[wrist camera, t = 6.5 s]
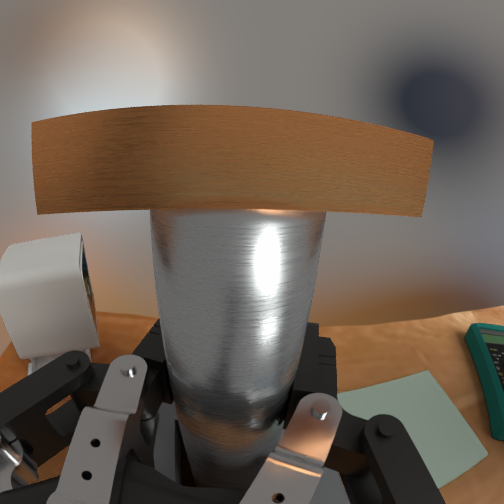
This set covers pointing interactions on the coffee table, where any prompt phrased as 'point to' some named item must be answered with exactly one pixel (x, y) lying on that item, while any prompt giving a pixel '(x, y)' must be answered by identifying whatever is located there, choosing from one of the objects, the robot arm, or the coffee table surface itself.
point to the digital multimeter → (490, 369)
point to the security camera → (48, 299)
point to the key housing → (169, 462)
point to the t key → (229, 243)
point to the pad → (422, 422)
